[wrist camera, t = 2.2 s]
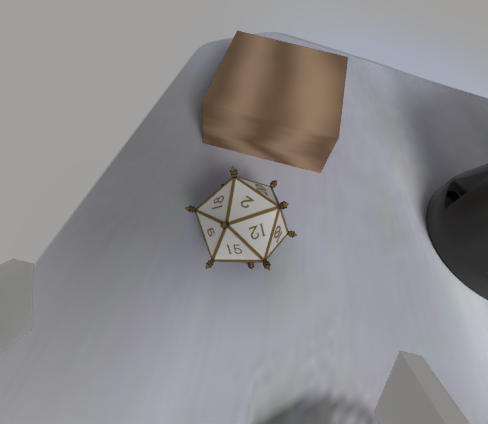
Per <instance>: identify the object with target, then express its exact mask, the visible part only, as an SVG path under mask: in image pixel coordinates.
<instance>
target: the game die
mask: <svg viewBox="0 0 488 424" xmlns="http://www.w3.org/2000/svg"><path fill="white" fill-rule="evenodd" d="M230 172H231V175H232V176H233V177H232V178H231V179H230V180H229V181H228V182H226V183H225V184H222V185H221V188H220V189H218V190H217V191H216V192H215V193H214V194H213V195H212V196H210V197H209V198H208V199H207V200H206V201H205V202H203V203H202V204H201V205H200V206H199V207H198V208H194V206H193V207H192V206H191V205H190V206H189V207H186V209H187V210H188V211H189V212H195V213H196V215H197V218H198V221H199V224H200V227H201V230H202V233H203V236H204V239H205V242H206V245H207V248H208V251H209V253H210V256H211V260H210V261H208V262H207V263H206V269H207V268H210V267H211V266H212V265H213V263H214V262H215V261H220V262H249V263H248V265H249V266H248V267H250V268H251V269H252V268H253V267H254V264H253V262H263V265H264V268H265V269H268V270H270V265H271V264H269V261H267V258H268V257H269V256H270V255H271V254H272V252H273V251H274V250H275V249H276V248H277V246H278V245H279V244H280V243H281V242H282V240H283V239H284V238H285V237H286V235H289V236H291V237H292V238H293V237H294V236H297V235H296V233H295V232H294V231H293V232H292V231H288V229H287V226H286V223H285V219H284V216H283V213H282V210H281V209H284V208H287V206H288V204H289V203H287V202H285V201H283V202H281V203H280V204H279V202H278V200H277V197H276V195H275V193H274V191H273V187H275V186H276V185H277V180H275V181H272V182H271V183H270V186H267V185H264V184H260V183H257V182H254V181H250V180H247V179H243V178H240V177H237V170H236V169H235V168H234V167H233V166H232V169H231V170H230Z"/></svg>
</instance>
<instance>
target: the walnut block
mask: <svg viewBox="0 0 488 424" xmlns="http://www.w3.org/2000/svg"><path fill="white" fill-rule="evenodd" d="M347 61H348V57H345V56H341V55H337V54H332V53H328V52H324V51H320V50H316V49H312V48H307V47H303V46H299V45H295V44H291V43H287V42H282V41H278V40H274V39H270V38H266V37H261V36H257V35H253V34H249V33H244V32H241V31H237V32H236V35H235V36H234V38H233V40H232V43H231V45H230V47H229V49H228V51H227V53H226V55H225V57H224V59H223V61H222V63H221V65H220V67H219V69H218V71H217V73H216V75H215V77H214V79H213V81H212V83H211V85H210V87H209V89H208V91H207V93H206V95H205V97H204V99H203V101H202V126H203V143H205V144H209V145H213V146H217V147H221V148H225V149H228V150H232V151H236V152H240V153H244V154H248V155H252V156H256V157H260V158H263V159H267V160H271V161H275V162H279V163H283V164H287V165H291V166H295V167H298V168H302V169H306V170H310V171H314V172H318V173H321V171H322V169H323V167H324V165H325V163H326V161H327V159H328V157H329V155H330V153H331V152H332V150H333V148H334V146H335V144H336V142H337V140H338V138H339V131H340V122H341V113H342V105H343V96H344V87H345V79H346V70H347Z"/></svg>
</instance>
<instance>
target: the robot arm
mask: <svg viewBox="0 0 488 424" xmlns="http://www.w3.org/2000/svg"><path fill="white" fill-rule="evenodd" d="M427 225H428V230H429V233H430V237H431V239H432V242H433V244H434V246H435V248H436V250H437V252H438V253H439V255H440V257H441V258H442V259H443V261H444V262H445V264H446V265H447V266H448V267H449V269H450V270H451V271H452V272H453V273H454V274H455V275H456V276H457V277H458V278H459V279H460V280H461V281H462V282H463V283H464V284H466V285H467V286H468V287H469V288H471V289H472V290H473V291H475V292H476V293H477V294H479V295H480V296H482V297H484V298H485V299H487V300H488V164H485V165H482V166H480V167H477V168H475V169H472V170H469V171H467V172H464V173H462V174H459V175H457V176H456V177H454V178H452V179H451V180H450V181H448V182H447V183H446V184H445V185H444V186H442V187H441V188H440V189H439V190H438V191H437V192H436V193H435V194H434V195H433V196H432V198H431V200H430V202H429V205H428V209H427ZM33 271H34V264H33V263H28V262H24V261H20V260H16V259H12V260H10V261H7V262H5V263H3V264H1V265H0V355H1V354H2V353H3V352H4V351H6V350H7V349H8V348H9V347H10V346H12V345H13V344H14V343H15V342H17V341H18V340H19V339H20V338H22V337H23V336H24V335H25V334H27V333H28V332H29V331H30V330H31V329H32V302H33ZM374 414H375V417H376V419H377V422H378V424H470V423H469V422H468V420H467V419H466V417H465V416H464V415H463V413H462V412H461V410H460V409H459V408H458V406H457V405H456V403H455V402H454V401H453V399H452V398H451V396H450V395H449V393H448V392H447V391H446V389H445V388H444V386H443V385H442V384H441V382H440V381H439V379H438V378H437V377H436V375H435V374H434V372H433V371H432V369H431V368H430V367H429V365H428V364H427V362H426V361H425V360H424V358H423V357H422V356H420V355H416V354H412V353H408V352H403V351H399V354H398V356H397V359H396V361H395V363H394V366H393V368H392V371H391V373H390V375H389V378H388V380H387V382H386V385H385V387H384V390H383V392H382V394H381V397H380V399H379V402H378V404H377V406H376V409H375V411H374Z"/></svg>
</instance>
